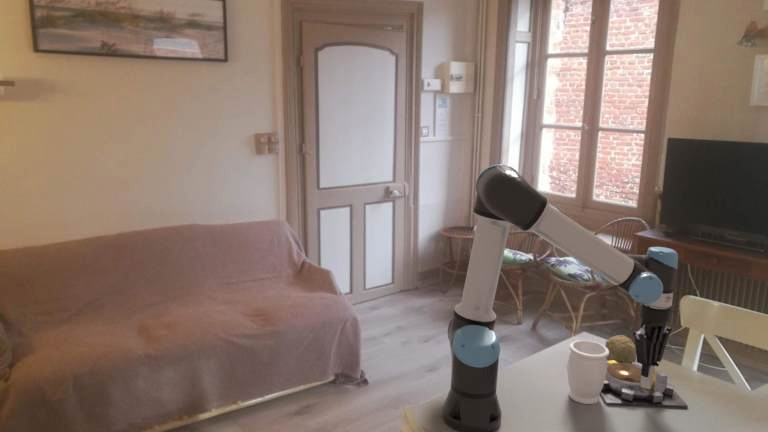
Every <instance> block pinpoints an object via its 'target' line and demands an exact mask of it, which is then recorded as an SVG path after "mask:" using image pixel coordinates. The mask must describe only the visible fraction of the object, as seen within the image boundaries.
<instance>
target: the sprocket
mask: <svg viewBox="0 0 768 432" xmlns="http://www.w3.org/2000/svg"><path fill="white" fill-rule="evenodd" d="M641 370H642V364H640V363H638V362H637V361H635V362H632V364H629V363H618V362H616V361H615V360H610V361H609V360H607V373H606V378H605V381H604V384H603V388H602V389H603V390H606V389H610V390H611V391H613V392H615V393H618V394H620V395H621V398H622V399H626V400H630V401H632V400H633V398H636V399H649V400H650V401H651V402H653V403H656V402H662V401H663V395H664V394H667V395H671V396H673V390H674V391H675V389H674V388H675V384H673V383H668V378H669V376H668V375H667V374H666V373H664V372H663V371H661V370H659V371H657V369H656V368H655V369H654V374H653V378H652V386H651V389H647V388H645V387H643V386H641V385H640V383H641Z"/></svg>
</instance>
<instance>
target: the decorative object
mask: <svg viewBox="0 0 768 432" xmlns="http://www.w3.org/2000/svg"><path fill="white" fill-rule="evenodd" d="M604 346H605V347H607V348H608V350H609V355H608V356H607V357H606V358H607V361H610V360H615V361H616V362H618V363H629V364H632V362H637V357H636V344H634V342H633V340H632V339H631V338H629V337H627V336H626V335H623V334H619V335H617V334H616V335H614V336H612V337H610V338H608V339H607V340H606V341H605V345H604Z"/></svg>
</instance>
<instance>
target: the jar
mask: <svg viewBox="0 0 768 432" xmlns="http://www.w3.org/2000/svg"><path fill="white" fill-rule="evenodd" d="M605 346H606V345H603V344H602V343H600V342H596V341H593V340H586V339H585V340H583V339H581V340H580V339H579V340H578V339H577V340H573V341H572V342H570V344H569V351H570V352H569V354H568V359H567V367H566V368H567V381H568V382H567V383H568V386H569V390H568V397H569V398H571V399H572V400H573V401H575V402H577V403H579V404H583V405H594V404H598V402H600V400H601V399H600V398H601V397H600V394H599V393H600V392H601V390H602V388H603V384H604V381H605V378H606V373H607V361H608V359H607V356H608V355H609V350H608V348H607V347H605Z"/></svg>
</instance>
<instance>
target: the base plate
mask: <svg viewBox="0 0 768 432" xmlns="http://www.w3.org/2000/svg"><path fill="white" fill-rule="evenodd" d="M654 369H656V367H654ZM599 397H600V398H601V399H602V401H603V402H604V403H605V406H614V407H615V406H616V407H617V406H618V407H640V408H641V407H645V408H649V407H650V408H668V409H669V408H670V409H671V408H674V409H688V408H689V405H688V404H687V403H686V402H685V401H684V400H683V398H682V397H681V396H680V395H679V394H678V393H677V391H675V389H674V390H673V396H671V395H667V394H664V395H663V401H662V402H656V403H653V402H651V401H650V400H649V399H636V398H633V400H632V401H630V400H626V399H622V398H621V395H620V394H618V393H615V392H613V391H611V390H610V389H606V390H603V389H602V390H601V392H600V393H599Z"/></svg>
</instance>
